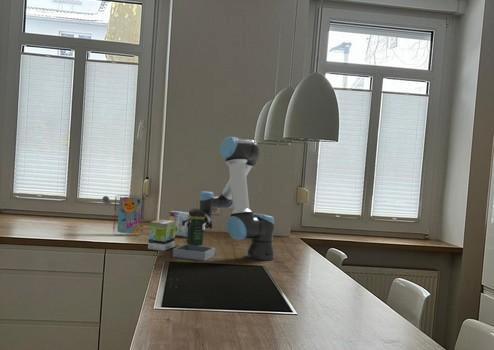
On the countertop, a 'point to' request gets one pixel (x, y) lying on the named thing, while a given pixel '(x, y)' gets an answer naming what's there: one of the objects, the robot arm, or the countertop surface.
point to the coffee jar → (195, 227)
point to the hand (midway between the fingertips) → (194, 226)
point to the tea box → (162, 234)
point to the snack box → (179, 222)
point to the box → (128, 213)
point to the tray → (194, 252)
